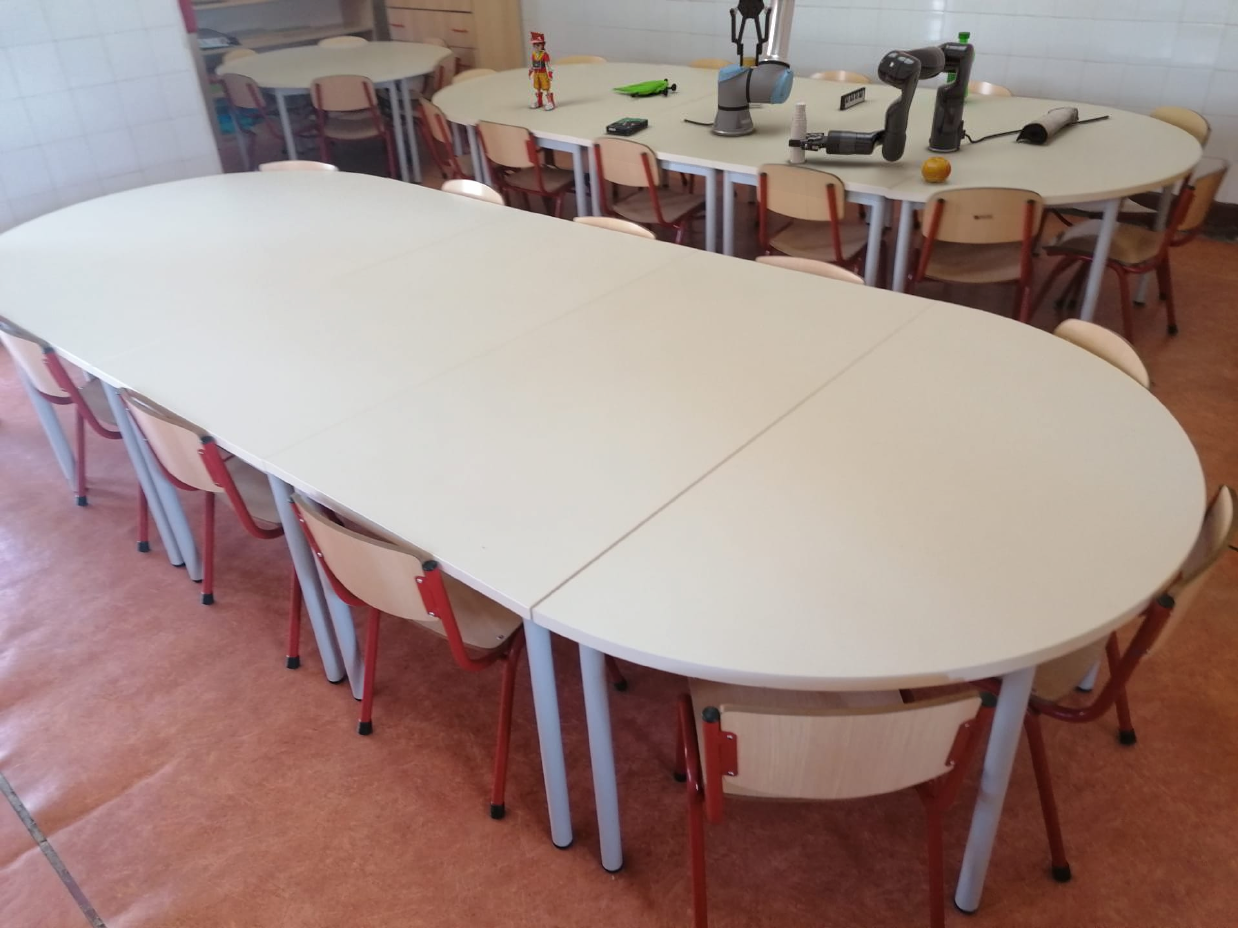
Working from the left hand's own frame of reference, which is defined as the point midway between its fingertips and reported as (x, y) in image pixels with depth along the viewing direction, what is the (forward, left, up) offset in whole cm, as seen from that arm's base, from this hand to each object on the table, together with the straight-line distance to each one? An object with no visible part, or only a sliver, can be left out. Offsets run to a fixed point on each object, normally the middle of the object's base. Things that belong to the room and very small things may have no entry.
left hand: (749, 65), depth 294 cm
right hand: (+16, -1, -22) cm, 28 cm away
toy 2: (-83, +72, -29) cm, 114 cm away
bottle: (+19, 0, -29) cm, 35 cm away
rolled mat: (+88, +60, -29) cm, 110 cm away
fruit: (+66, -5, -29) cm, 72 cm away
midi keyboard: (+12, +78, -29) cm, 84 cm away
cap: (0, 0, +2) cm, 2 cm away
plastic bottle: (+47, +95, -29) cm, 110 cm away
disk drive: (-56, +15, -29) cm, 65 cm away
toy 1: (-110, +35, -29) cm, 119 cm away
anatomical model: (-29, +66, -29) cm, 78 cm away
